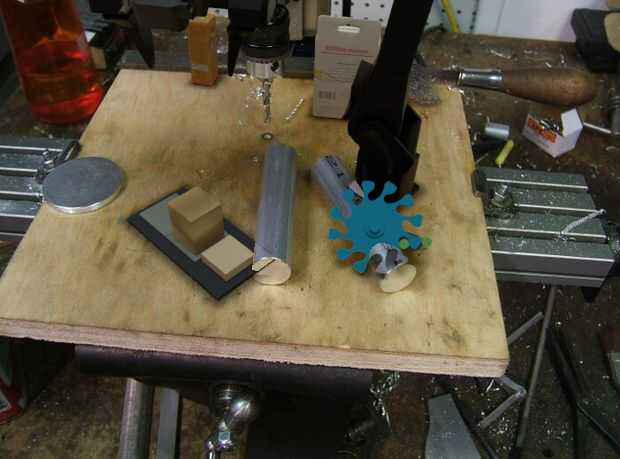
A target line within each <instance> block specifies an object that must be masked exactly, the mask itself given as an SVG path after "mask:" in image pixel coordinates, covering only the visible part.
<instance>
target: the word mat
mask: <svg viewBox="0 0 620 459" xmlns="http://www.w3.org/2000/svg"><path fill="white" fill-rule="evenodd" d="M189 190H190V189H188V188H186V187H185V186H181V187H180V188H179V189H176V190H175V191H173V192H172V193H169V194H168V195H165V196H164V197H162V198H161V199H159V200H157V201H156V202H153V203H151V204H150V205H148V206H146V207H144V208H142V209H141V210H139V211H138V212H135V213H134V214H132V215H130V216H128V217H126V221H127V222H128V223H129V224H130V225H131V226H132V227H134V228H135V230H137V231H138V232H139V233H140V234H141V235H142V236H144V237H145V238H146V239H147V240H148V241H150V243H152V244H153V245H154V246H155V247H156V248H157V249H159V251H161V252H162V253H163V254H164V255H166V256H167V257H168V258H169V259H170V260H171V261H172V262H173V263H175V264H176V265H177V266H178V267H179V268H180V269H181V270H183V272H185V273H186V274H187V275H188V276H189V277H190V278H191V279H193V280H194V281H195V282H196V283H197V284H198V285H200V286H201V287H202V288H203V289H204V290H205V291H206V292H208V293H209V294H210V295H211V296H212V297H213V298H214V299H216V300H217V301H219V300H221V299H222V298H223V297H225V296H226V295H228V294H229V293H230V292H232V291H233V290H235V289H237V287H239V286H241V285H242V284H243V283H245V282H246V281H247V280H249V279H250V278H252V277H253V276H254V275H256V274H257V273H259V271H255V270H252V265H253V256H254V247H255V242H256V240H254V239H253V238H252V237H250V236H249V235H248V234H246V233H245V232H243V231H242V230H241V229H240V228H238V227H237V226H236V225H234V224H233V223H232V222H231V221H229V220H228V219H227V218H226V217H224V216H223V225H224V235H225V237H224V238H222V239H221V240H219V241H218V242H216V243H215V244H213V245H211V246H210V247H208V248H207V249H205V250H204V251H202V252H201V253H199V254H198V255H195V254H194V253H193V252H191V251H190V250H189V249H188V248H187V247H185V246H184V245H183V244H182V243H181V242H180V241H178V240H177V239H176V238H175V237H174V236H173V231H172V226H171V221H170V216H169V211H168V205H167V203H168V202H170V201H172V200H173V199H175V198H177V197H179V196H180V195H182V194H184V193H186V192H187V191H189Z"/></svg>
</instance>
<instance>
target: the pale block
mask: <svg viewBox="0 0 620 459" xmlns="http://www.w3.org/2000/svg"><path fill="white" fill-rule="evenodd" d="M188 190H189V191H187V192H186V193H184V194H182V195H180V196H179V197H177V198H175V199H173V200H172V201H170V202H168V203H167V205H168V211H169V216H170V221H171V226H172V231H173V236H174V237H175V238H176V239H177V240H178V241H180V242H181V243H182V244H183V245H184V246H185V247H187V248H188V249H189V250H190V251H191V252H193V253H194V254H195V255H198V254H199V253H201V252H202V251H204V250H205V249H207V248H208V247H210V246H211V245H213V244H215V243H216V242H218V241H219V240H221V239H222V238H224V237H225V235H224V225H223V217H224V215H223V206H222V203H221V201H219V200H217V199H216V198H215V197H213V196H212V195H211V194H209V193H208V192H207V191H205V190H204V189H203V188H202V187H200V186H198V185H196V186H195V187H193V188H191V189H188Z"/></svg>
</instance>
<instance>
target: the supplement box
mask: <svg viewBox="0 0 620 459" xmlns="http://www.w3.org/2000/svg"><path fill="white" fill-rule="evenodd" d="M216 19H217V18H216V15H215V14H214V13H210V12H208V13H207V16H206V17H195V18H194V20H191V19H189V24H188V27H187V28H186V30H187V40H188V51H189V62H190V63H189V64H190V75H191V82H192V83H193V84H196V85H203V86H209V87H212V86H213V85H214V83H215V82H216V80H217V79H218V78H219V62H218V40H217V20H216Z"/></svg>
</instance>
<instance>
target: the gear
mask: <svg viewBox="0 0 620 459" xmlns="http://www.w3.org/2000/svg"><path fill="white" fill-rule="evenodd" d="M362 188H363V191H364V198H362V200H361V203H360V204H359V205H355V204H354V203H353V200H354V198H355V193H354V191H353V190H352V189H346V190H344V191H342V192H341V197H342V199H343V200H344V201H346V203H347V204H348V205H349V208H350V216H349V217H347V218H345V217H344V216H343V212H342V209H341V208H340V207H339V206H338V205H334V206H333V208H331V209H330V212H329V213H328V215H329V216H330V218H333V219H335V220H336V219H337V220H340V221H341V222H342V223H343V224H344V225H345V226H346V227H347V232H346V233H344V234H342V233H341V232H340V231H339V229H338V228H336V227H330V228H329V229H328V234H327V235H328V240H330V241H335V240H338V239H345V240H348V241H350V242H352V244H353V246H352V248H350V249H347V248H344V247H339V248H337V249H336V255H337V257H338V259H339V261H345V260H346V259H347V258H348V257H349V256H350V255H351V254H354V253H356V252H363V253H364V254H365V258H364V259H362V260H361V259H360V260H357V261H355V262H354V263H353V265H352V267H353V269H354V270H355V271H357V272H358V273H360V274H363V273H364V272H365V271H366V269H367V264H368V262H369V260H370V259H369V253H370V250H371V249H372V247H374V246H375V245H376V244H378V243H385V244H389V245H393V246H395V247H397V248H398V249H400V250H401V249H403V250H406V249H407V250H411V251H418V250H420V249H421V248H422V247H424V248H429V247H431V246H432V244H433V240H432V238H431V237H429V236H424V237H422V238H421V237H420V236H419V235H417V234H414V233H411V232H409V231H407V230H405V229H404V227H403V222H405V221H407V222H409V223H410V224H411V225H412V226H413V227H415V228H421V226H422V224H423V215H421V214H419V213H417V214H413V215H403V214H400V213H398V211H397V208H398V207H399V206H404V207H406V208H410V207H412V206H414V204H415V201H414V198H413V197H412V196H413V195H412V196H411V195H410V194H406V195H405V196H404V197H403V198H402V199H401V200H399V201H398V202H395V203H391V204H387V203H385V201H384V197H385V196H386V195H388V194H393V193H394V192H395V191H396V189H397V187H396V186H395V185H394V184H392V183H391V182H389V181H388V182H386V183H385V185H384V190H383V192H382V194H381V195H380V196H379V197H378V198H377V199H376V200H374V201H371V200H369V199H368V194H369V193H370V192H371V191H372V190H373V189H374V182H372V181H363V183H362ZM397 206H398V207H397ZM400 247H401V248H400ZM401 251H402V250H401ZM375 273H376V274H378V273H377V272H376V271H375Z"/></svg>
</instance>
